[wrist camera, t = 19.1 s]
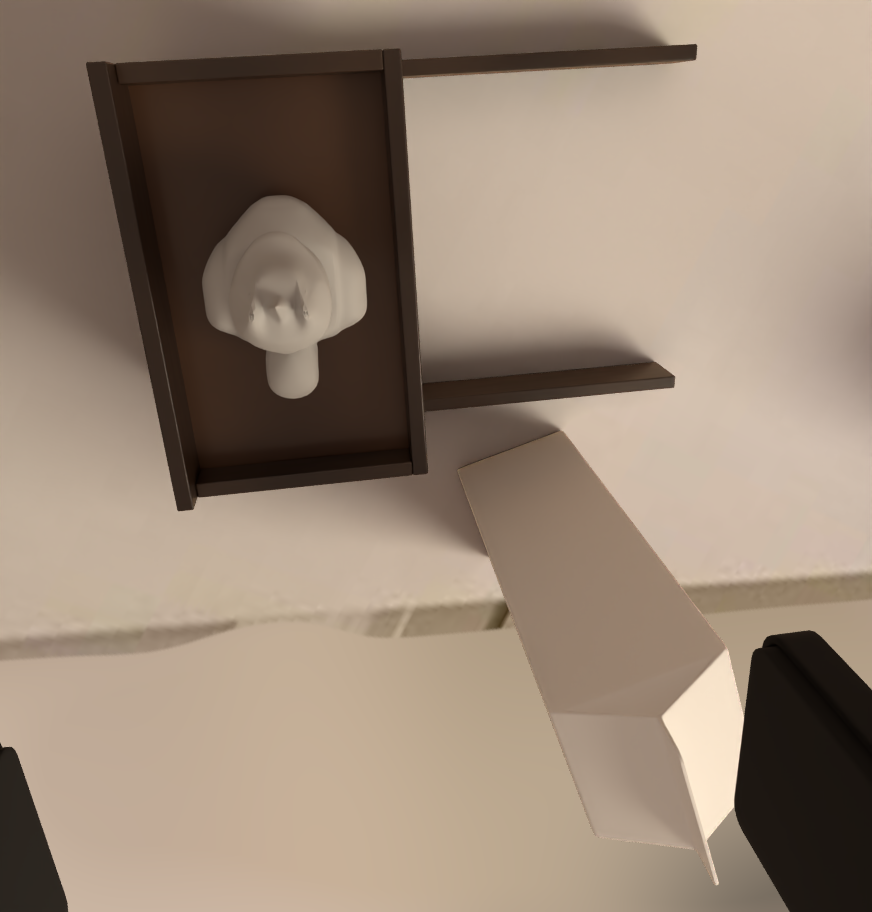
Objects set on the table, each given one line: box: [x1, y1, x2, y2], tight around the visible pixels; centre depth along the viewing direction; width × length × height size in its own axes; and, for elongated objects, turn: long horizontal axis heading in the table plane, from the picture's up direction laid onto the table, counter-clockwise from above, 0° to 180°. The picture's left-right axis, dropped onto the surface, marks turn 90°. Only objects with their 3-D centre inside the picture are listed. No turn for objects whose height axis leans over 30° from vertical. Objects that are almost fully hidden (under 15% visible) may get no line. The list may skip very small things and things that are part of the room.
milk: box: [457, 431, 744, 885], centre depth 33 cm, size 6×6×22 cm
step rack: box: [86, 44, 697, 511], centre depth 33 cm, size 22×15×10 cm, turn 93°
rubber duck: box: [202, 195, 367, 399], centre depth 26 cm, size 5×7×8 cm
